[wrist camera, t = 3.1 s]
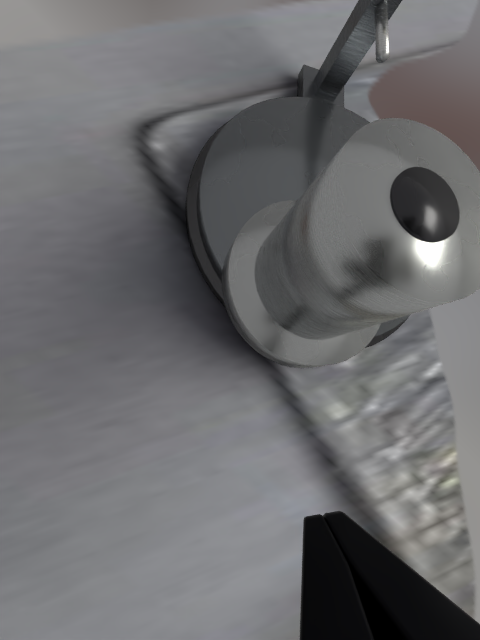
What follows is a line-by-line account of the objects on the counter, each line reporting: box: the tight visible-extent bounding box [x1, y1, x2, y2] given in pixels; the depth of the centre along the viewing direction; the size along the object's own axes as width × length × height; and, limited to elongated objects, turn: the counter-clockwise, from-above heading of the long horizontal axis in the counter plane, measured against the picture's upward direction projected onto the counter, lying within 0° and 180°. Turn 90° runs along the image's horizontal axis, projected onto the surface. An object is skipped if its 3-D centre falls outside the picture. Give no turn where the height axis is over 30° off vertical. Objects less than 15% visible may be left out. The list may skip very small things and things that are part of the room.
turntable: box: [186, 97, 411, 348], centre depth 21 cm, size 16×16×2 cm
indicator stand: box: [298, 0, 402, 108], centre depth 19 cm, size 5×3×10 cm, turn 177°
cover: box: [222, 118, 480, 368], centre depth 15 cm, size 8×8×9 cm
